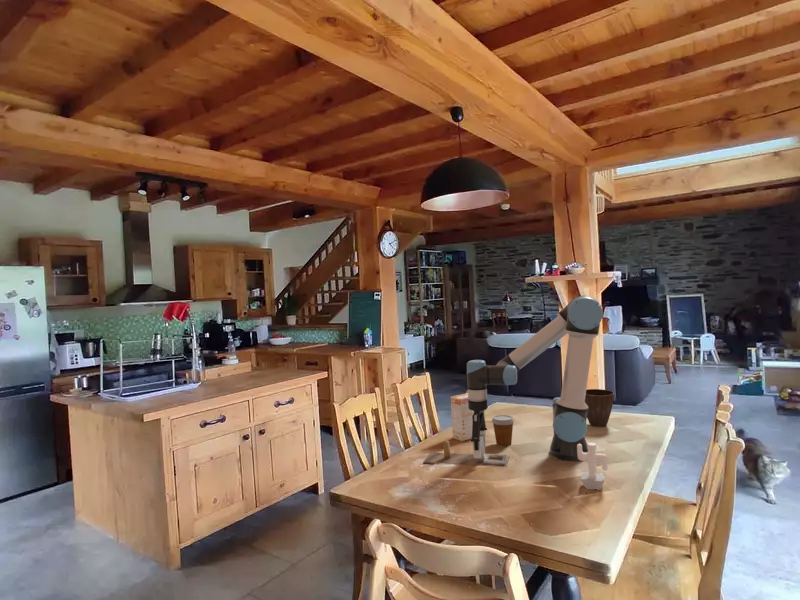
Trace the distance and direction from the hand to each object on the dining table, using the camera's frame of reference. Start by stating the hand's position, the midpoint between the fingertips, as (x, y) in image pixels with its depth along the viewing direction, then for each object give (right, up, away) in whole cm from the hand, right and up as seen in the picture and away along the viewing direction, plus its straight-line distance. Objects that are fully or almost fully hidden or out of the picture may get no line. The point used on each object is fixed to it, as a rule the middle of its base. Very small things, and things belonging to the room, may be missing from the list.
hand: (480, 452), depth 200 cm
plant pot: (+63, 0, +41) cm, 75 cm away
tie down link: (+4, -3, -1) cm, 5 cm away
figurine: (+34, -3, -29) cm, 45 cm away
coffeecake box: (0, -3, +34) cm, 34 cm away
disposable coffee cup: (+14, -3, +19) cm, 23 cm away
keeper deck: (-5, -4, +2) cm, 7 cm away
